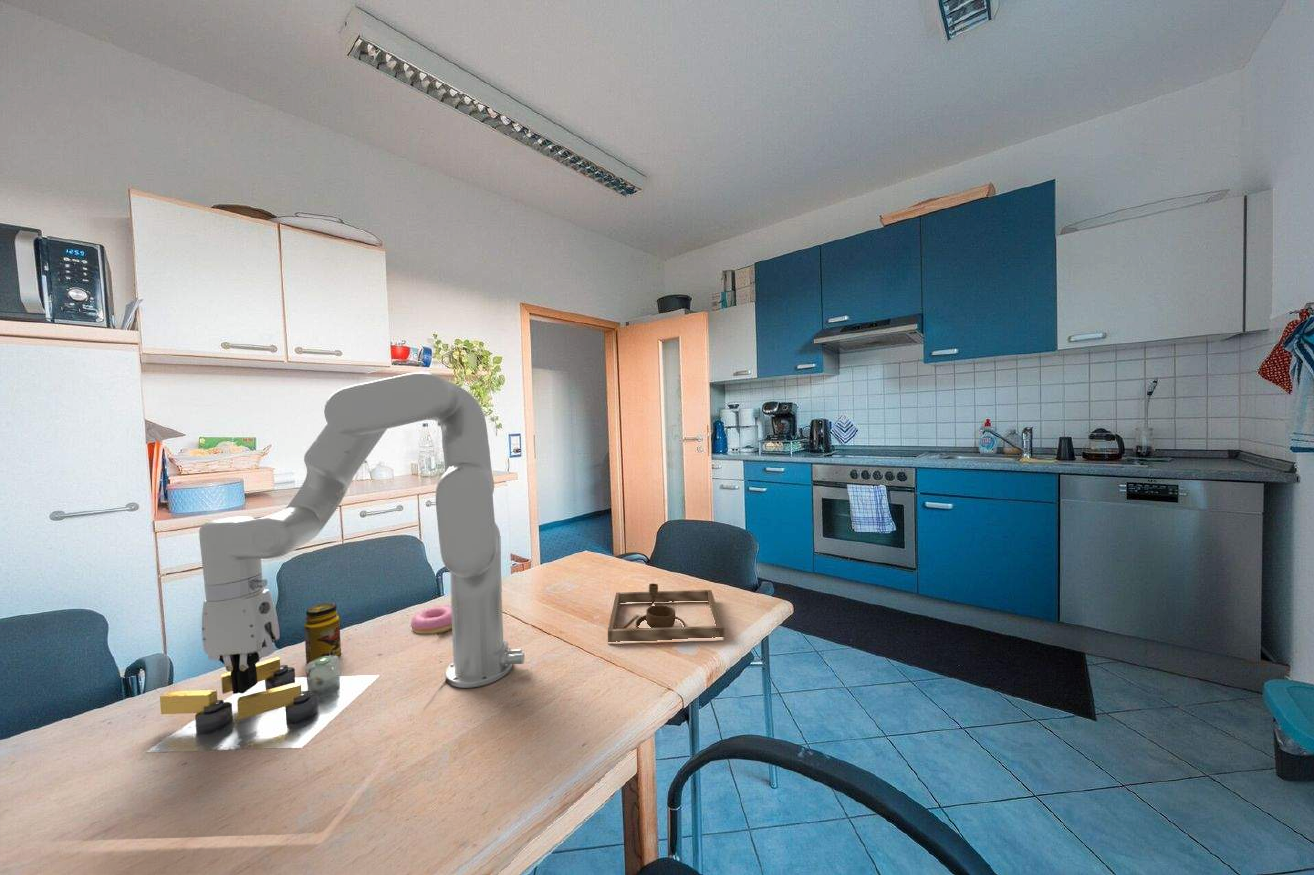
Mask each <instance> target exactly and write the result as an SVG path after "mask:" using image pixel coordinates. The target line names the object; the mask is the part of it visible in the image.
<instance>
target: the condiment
mask: <svg viewBox="0 0 1314 875" xmlns="http://www.w3.org/2000/svg"><path fill="white" fill-rule="evenodd" d="M337 610H338V609H337V604H335V603H332V602H327V603H320V604H317V605H316V604H315V605H313V606H312V607H309V608H308V609H307V610H306V612H305V615H306V618H305V620H306V621H305V623H304V627H303V628H304V629H303V630H304V644H305V662H306V665H307V664H309V663H310V662H312V661H313V660H316V659H318V658H320V657H323V656H338V657H339V658H340V657H342V647H341V646H342V643H341V627H340V625H341V624H340V616H339V615H338V611H337Z"/></svg>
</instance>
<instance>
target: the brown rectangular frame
mask: <svg viewBox="0 0 1314 875" xmlns="http://www.w3.org/2000/svg"><path fill="white" fill-rule="evenodd" d="M714 597H715V596H714V594H713V591H712V590H711V589H695V590H691V589H690V590H689V589H688V590H663V591H659V590H658V593H657V595H655V598H654V599H655V602H669V601H672V602H674V601H708V602H709V603H708V602H707V603H708V606H709V605H710V607H709V609H710V608H711V610H710V612H711V611H712V613H711V615H712V614H713V617H714V620H715V623H714V625H708V626H707V625H705V626H704V625H702V626H699V625H698V626H685V627H682V626H676V627H675V626H672V627H665V628H636V627H633V628H624V629H622V628H616V629H615V626H616V627H617V623H616V621H617V622H618V618H617V616H619V612H618V610H619V611H620V607H619V605H620V603H626V602H651V599H652V595H650V594H649V591H629V592H628V591H625V592H621V591H620V592H615V595H614V601H613V605H612V610H611V615H610V620H609V623H608V627H607V628H608V629H607V643H608V642H616V641H617V642H620V641H657V640H672V639H688V638H712V637H713V638H715V637H724V638H725V626H724V624H723V621H722V617H721V615H720V612H719V609H718V606H717V603H716V599H715V598H714ZM620 606H621V605H620ZM713 617H712V618H713ZM714 620H713V621H714ZM715 624H716V626H715Z"/></svg>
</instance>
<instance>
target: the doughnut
mask: <svg viewBox="0 0 1314 875" xmlns="http://www.w3.org/2000/svg"><path fill="white" fill-rule="evenodd" d="M410 627H411V629H412V632H414V633H416V634H422V635H423V634H424V635H425V634H435V633H436V635H439V634H443V633H446V632H447V631H450V630H452V614H451V605H438V606H436V605H435V606H433V607H428V608H426V609H423V610H421V611H419V612H417V613H416V614H415V615H414V616H413V617H412V619H411V623H410Z"/></svg>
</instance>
